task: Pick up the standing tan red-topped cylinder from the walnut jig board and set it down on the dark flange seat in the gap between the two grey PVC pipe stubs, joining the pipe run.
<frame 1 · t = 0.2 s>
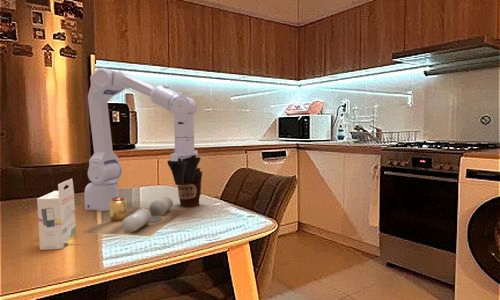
hand: (184, 182, 109), 10 cm above the table, fingers open, 7 cm apart
coffee cup: (190, 208, 119), on the table
ink box: (58, 244, 85), on the table
flange seat: (150, 220, 101), resting on jig board
tan red-topped cylinder: (118, 219, 102), point 1 cm above the table, touching jig board
pipe stubs: (150, 223, 101), resting on jig board
jig board: (140, 223, 102), on the table
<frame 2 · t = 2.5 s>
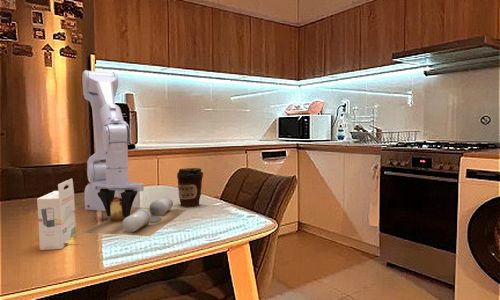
hand: (118, 216, 101), 2 cm above the table, fingers closed on tan red-topped cylinder, 4 cm apart
tan red-topped cylinder: (118, 219, 102), point 1 cm above the table, touching gripper, jig board
everything else where it was.
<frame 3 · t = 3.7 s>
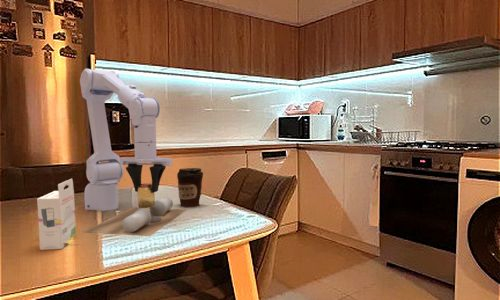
hand: (146, 191, 100), 9 cm above the table, fingers closed on tan red-topped cylinder, 4 cm apart
tan red-topped cylinder: (146, 206, 100), point 5 cm above the table, touching gripper
everything else where it was.
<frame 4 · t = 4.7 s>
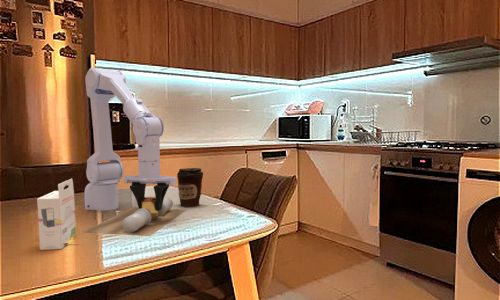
hand: (150, 209, 101), 4 cm above the table, fingers closed on tan red-topped cylinder, 4 cm apart
tan red-topped cylinder: (150, 219, 101), point 1 cm above the table, touching flange seat, gripper
everything else where it was.
when the fingers open (3 cm above the table, at t = 5.3 s): tan red-topped cylinder stays where it is, resting on flange seat.
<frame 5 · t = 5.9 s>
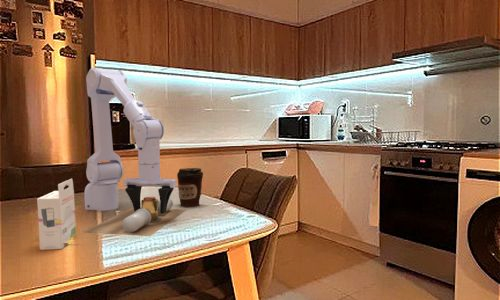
hand: (150, 212, 101), 3 cm above the table, fingers open, 7 cm apart
tan red-topped cylinder: (150, 219, 101), point 1 cm above the table, touching flange seat
everything else where it was.
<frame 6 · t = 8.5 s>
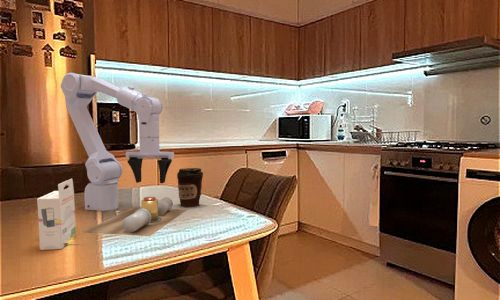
hand: (150, 182, 110), 10 cm above the table, fingers open, 7 cm apart
nothing on the table moved.
at the end: tan red-topped cylinder 0.3 cm from the flange seat (horizontally); tan red-topped cylinder tilted 0°; the gripper is holding nothing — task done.
